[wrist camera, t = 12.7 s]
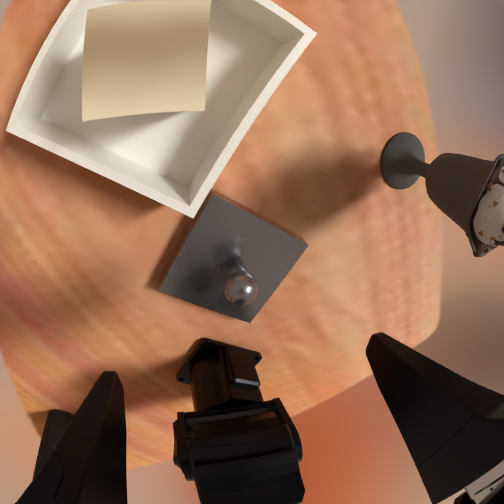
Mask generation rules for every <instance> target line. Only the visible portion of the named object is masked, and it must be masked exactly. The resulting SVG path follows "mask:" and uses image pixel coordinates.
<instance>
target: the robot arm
mask: <svg viewBox="0 0 504 504" xmlns="http://www.w3.org/2000/svg"><path fill="white" fill-rule="evenodd" d="M366 356H367V358H368V361H369V364H370V366H371V369H372V371H373V374H374V377H375V379H376V382H377V384H378V387H379V389H380V391H381V393H382V395H383V397H384V399H385V401H386V403H387V405H388V407H389V409H390V411H391V413H392V415H393V418H394V419H395V422H396V424H397V426H398V428H399V430H400V432H401V434H402V436H403V439H404V441H405V443H406V445H407V447H408V449H409V452H410V454H411V456H412V458H413V460H414V463H415V465H416V467H417V469H418V472H419V474H420V476H421V479H422V481H423V483H424V486H425V488H426V490H427V493H428V495H429V497H430V500H431V502H432V504H437V503H439V502H441V501H443V500H445V499H446V498H448V497H450V496H451V495H453V494H455V493H457V492H458V491H460V490H462V489H463V488H464V489H465V490H466V491H465V492H463V493H462V494H461V495H460V496H458V497H457V498H456V499H455V501H454V504H504V395H502V394H500V393H497V392H495V391H493V390H490V389H488V388H486V387H483V386H481V385H479V384H477V383H474V382H472V381H470V380H468V379H466V378H464V377H462V376H461V375H459V374H457V373H454V372H453V371H451V370H450V369H448V368H446V367H444V366H442V365H441V364H439V363H437V362H435V361H433V360H431V359H429V358H428V357H426V356H424V355H422V354H420V353H419V352H417V351H415V350H413V349H412V348H410V347H408V346H406V345H404V344H403V343H401V342H399V341H397V340H395V339H394V338H392V337H390V336H388V335H386V334H385V333H382V332H379V333H376V334H373V335H372V336H371V338H370V340H369V343H368V345H367V348H366ZM261 359H262V356H261V354H260V353H259V352H255V351H251V350H247V349H243V348H240V347H236V346H232V345H229V344H225V343H222V342H218V341H215V340H211V339H207V338H206V339H202V340H201V341H200V343H199V344H198V346H197V347H196V348H195V350H194V351H193V353H192V354H191V356H190V357H189V358H188V360H187V361H186V363H185V364H184V365H183V367H182V368H181V370H180V371H179V372H178V374H177V375H176V380H177V381H178V382H181V383H186V384H190V385H191V391H192V399H193V406H194V412H186V413H184V412H177V420H176V421H175V422H173V429H174V454H173V460H174V464H175V465H176V466H178V467H179V468H181V470H182V472H183V473H184V475H185V478H186V480H187V481H195V483H196V487H197V492H198V495H199V499H200V503H201V504H299V503H301V502H302V500H303V496H304V493H305V488H304V485H303V481H302V478H301V474H300V469H299V464H298V462H300V461H301V460H302V455H303V454H302V445H301V441H300V438H299V434H298V432H297V429H296V427H295V426H294V424H293V422H292V420H291V418H290V417H289V415H288V413H287V411H286V410H285V408H284V406H283V404H282V402H281V401H280V399H279V398H274V399H272V400H269V401H263V398H262V395H261V392H260V389H259V386H260V381H259V378H258V375H257V372H256V369H255V366H256V365H257V364H258V362H259V361H260V360H261ZM15 504H127V482H126V420H125V406H124V391H123V386H122V384H121V381H120V379H119V377H118V375H117V373H116V371H104V372H103V373H102V374H101V375H100V377H99V378H98V380H97V381H96V383H95V384H94V386H93V387H92V389H91V390H90V392H89V393H88V395H87V397H86V398H85V400H84V401H83V403H82V404H81V406H80V407H79V409H78V410H77V412H76V414H75V415H74V417H73V418H72V420H71V421H70V423H69V425H68V426H67V428H66V429H65V431H64V433H63V434H62V436H61V438H60V439H59V441H58V443H57V444H56V446H55V449H53V451H52V452H51V454H50V456H49V457H48V459H47V461H46V462H45V464H44V465H43V467H42V468H41V470H40V471H39V473H38V474H37V475H36V477H35V478H34V480H33V481H32V482H31V484H30V485H29V486H28V487H27V489H26V490H25V491H24V493H23V494H22V496H21V497H20V498H19V499H18V501H17V502H16V503H15Z"/></svg>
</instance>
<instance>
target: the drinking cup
mask: <svg viewBox="0 0 504 504" xmlns="http://www.w3.org/2000/svg"><path fill="white" fill-rule="evenodd" d="M73 417H74V415H72V414H70V413H68V412H65V411H61V410H51V411H49V413H48V417H47V420H46V424H45V427H44V431H43V435H42V439H41V443H40V447H39V451H38V456H37V460H36V465H35V470H34V475H33V480H34V478H35V477H36V475H37V474H38V473H39V471H40V470H41V468H42V467H43V465H44V464H45V462H46V461H47V459H48V457H49V456H50V454H51V452H52V451H53V449H55V446H56V444H57V443H58V441H59V439H60V438H61V436H62V434H63V433H64V431H65V429H66V428H67V426H68V425H69V423H70V421H71V420H72V418H73Z"/></svg>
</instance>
